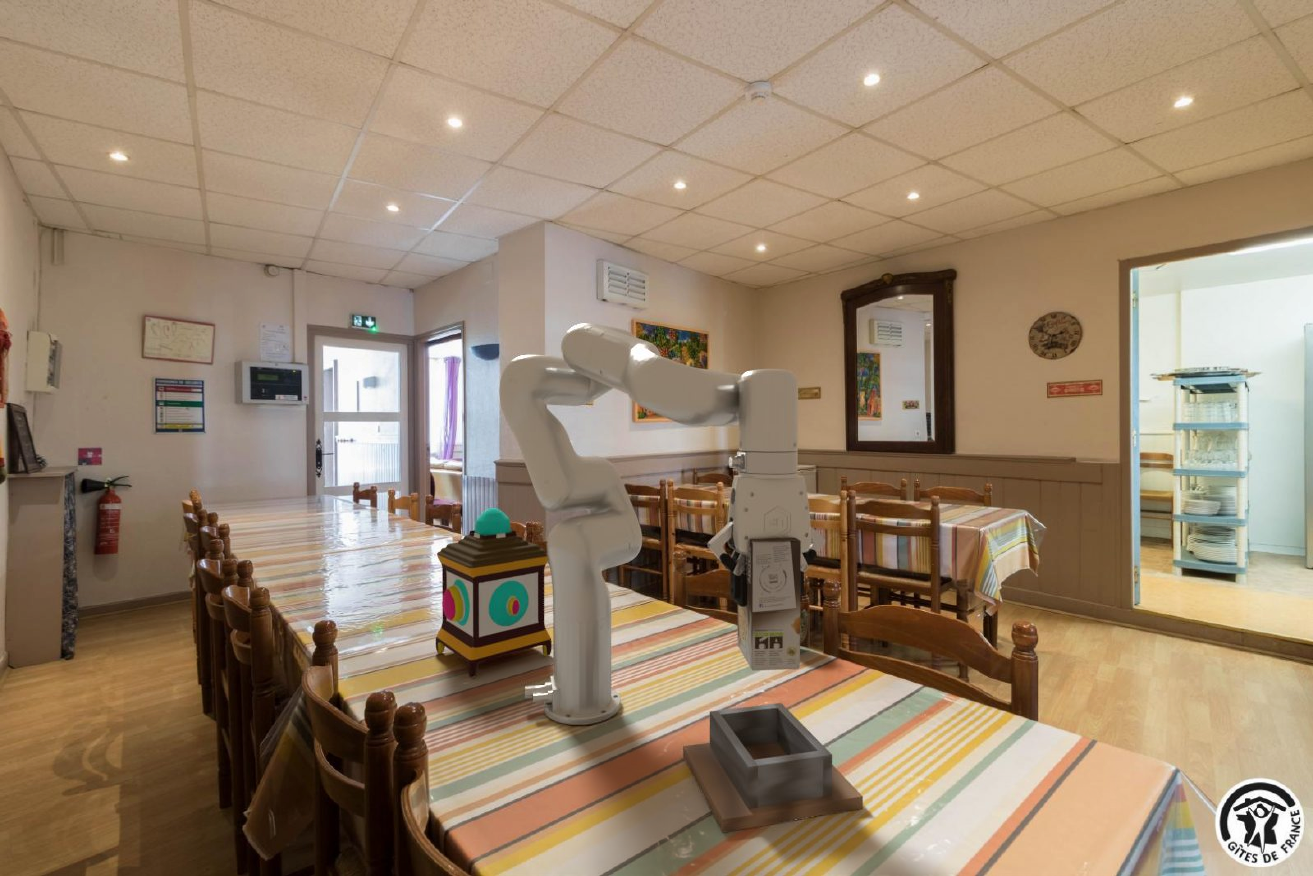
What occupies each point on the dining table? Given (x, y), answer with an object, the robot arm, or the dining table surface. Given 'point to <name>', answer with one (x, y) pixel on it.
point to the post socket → (766, 770)
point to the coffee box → (771, 605)
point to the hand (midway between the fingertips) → (767, 600)
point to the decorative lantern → (492, 593)
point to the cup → (803, 624)
